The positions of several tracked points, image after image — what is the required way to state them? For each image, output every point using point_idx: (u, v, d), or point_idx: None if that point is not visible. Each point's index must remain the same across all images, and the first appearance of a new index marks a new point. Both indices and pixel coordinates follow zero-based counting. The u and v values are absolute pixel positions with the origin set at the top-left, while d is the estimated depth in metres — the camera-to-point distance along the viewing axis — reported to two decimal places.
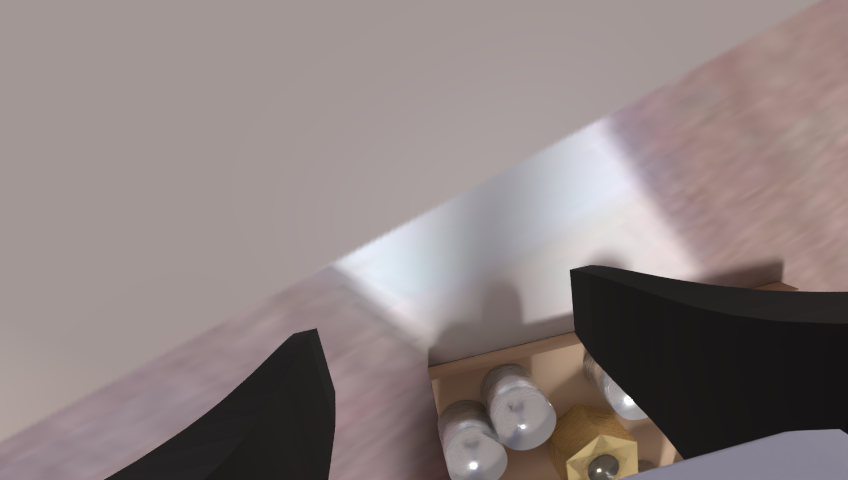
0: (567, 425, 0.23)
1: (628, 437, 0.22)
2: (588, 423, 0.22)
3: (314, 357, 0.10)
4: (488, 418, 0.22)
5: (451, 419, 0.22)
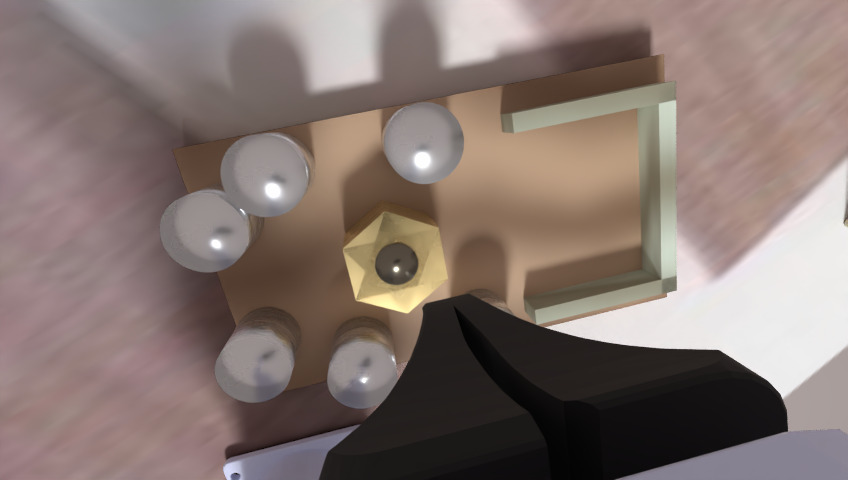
0: (363, 220, 0.18)
1: (429, 223, 0.17)
2: (380, 209, 0.17)
3: None
4: None
5: None
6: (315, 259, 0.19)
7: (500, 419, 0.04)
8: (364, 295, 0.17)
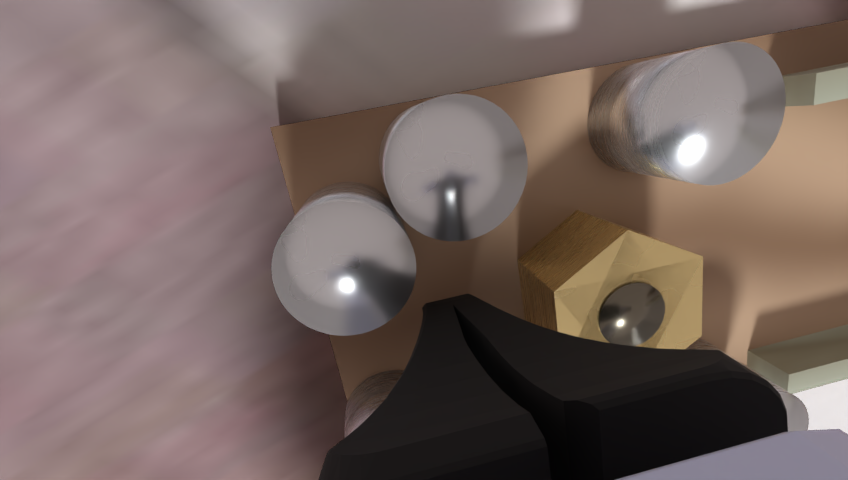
0: (557, 242, 0.12)
1: (684, 249, 0.11)
2: (600, 225, 0.11)
3: None
4: (388, 204, 0.10)
5: (307, 201, 0.10)
6: None
7: (500, 419, 0.04)
8: None
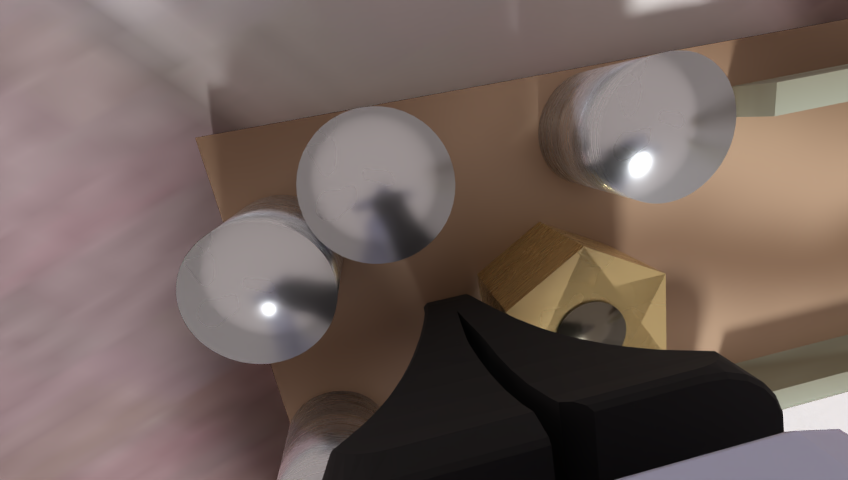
0: (516, 257, 0.11)
1: (646, 266, 0.10)
2: (558, 240, 0.10)
3: None
4: None
5: None
6: (419, 316, 0.12)
7: (504, 418, 0.04)
8: None
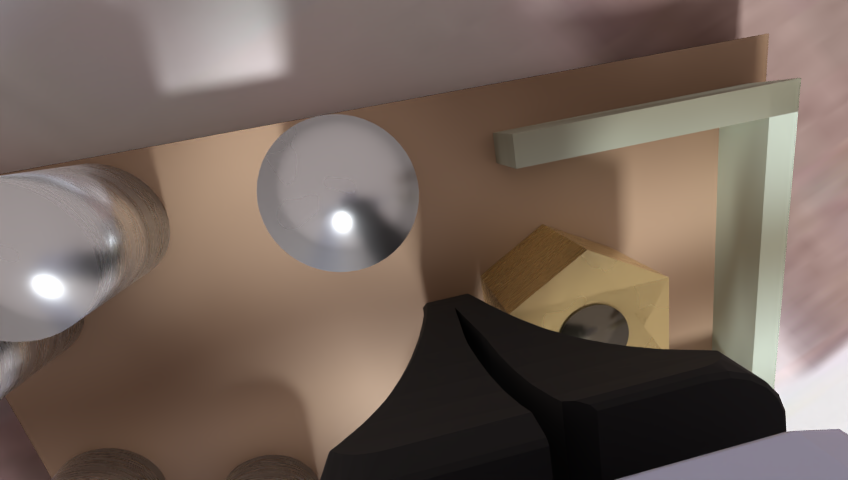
0: (519, 259, 0.11)
1: (649, 269, 0.10)
2: (561, 242, 0.10)
3: None
4: None
5: None
6: (182, 372, 0.11)
7: (501, 419, 0.04)
8: None
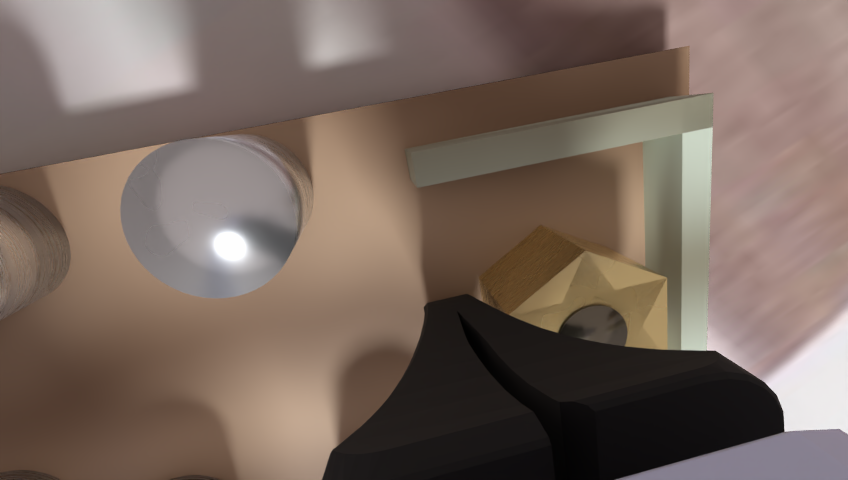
0: (518, 260, 0.11)
1: (647, 270, 0.10)
2: (560, 243, 0.10)
3: None
4: None
5: None
6: (93, 392, 0.11)
7: (503, 418, 0.04)
8: None
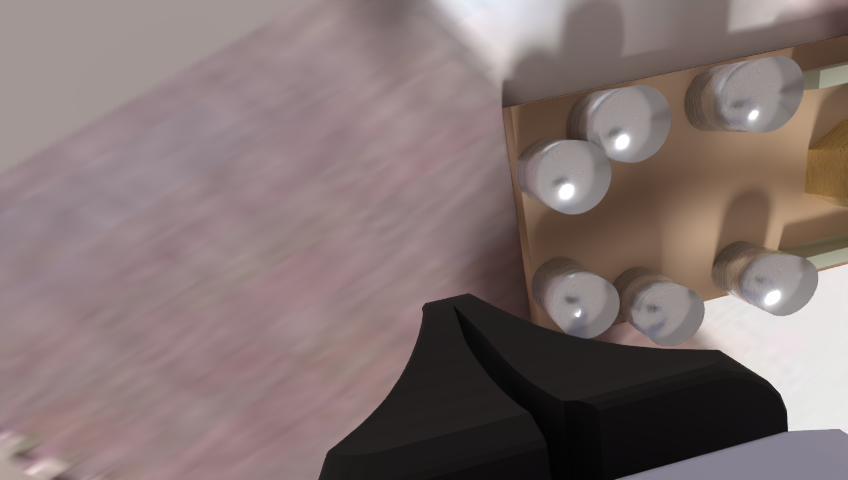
0: (841, 135, 0.21)
1: None
2: None
3: None
4: None
5: (537, 147, 0.18)
6: (610, 211, 0.21)
7: (500, 419, 0.04)
8: None
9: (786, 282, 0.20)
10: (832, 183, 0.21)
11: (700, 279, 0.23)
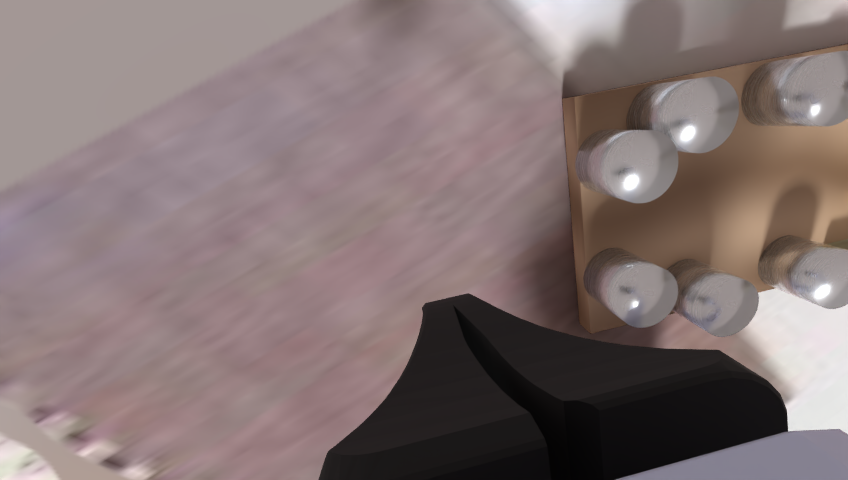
0: None
1: None
2: None
3: None
4: None
5: (600, 137, 0.18)
6: (664, 203, 0.21)
7: (500, 419, 0.04)
8: None
9: (838, 275, 0.20)
10: None
11: (747, 272, 0.23)
